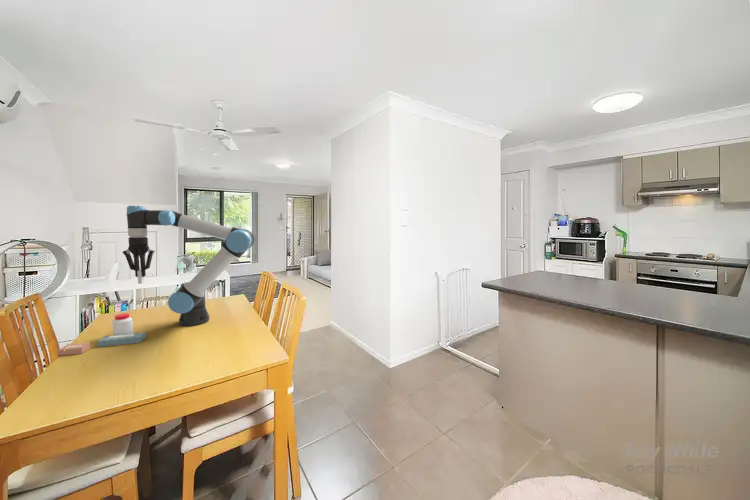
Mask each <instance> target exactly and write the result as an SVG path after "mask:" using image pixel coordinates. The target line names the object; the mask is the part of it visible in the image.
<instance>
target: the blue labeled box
mask: <svg viewBox="0 0 750 500" xmlns="http://www.w3.org/2000/svg"><path fill="white" fill-rule="evenodd" d="M146 338H147V333H146V332H145V331H144V332H136V333H134V332H133V333H132V334H121V335H113V334H112V335H111V334H110V335H105V336H104V337H102V338H101V339H99V340H98V341H97V347H98V348H99V347H100V348H101V347H110V346H120V345H121V346H122V345H129V344H130V345H131V344H139V343H141V342H142V341H144V339H146Z"/></svg>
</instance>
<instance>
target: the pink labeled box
mask: <svg viewBox="0 0 750 500" xmlns="http://www.w3.org/2000/svg"><path fill="white" fill-rule="evenodd" d="M66 348H67V349H66ZM90 348H91V342H77V343H71V344H70V343H68V344H66V345H63V347H61V348H59V349H58V351H57V354H58V356H59V355H60V356H69V355H78V354H83V353H85V352H86V351H88V350H89V349H90ZM64 350H65V351H64Z"/></svg>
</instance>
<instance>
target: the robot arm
mask: <svg viewBox="0 0 750 500" xmlns="http://www.w3.org/2000/svg"><path fill="white" fill-rule="evenodd" d="M126 221H127V236H128V247H127V248H126V250H124V251H122V254H123V255H124V256H125V258H126V260H127V264H128V266H129V269H130V270H131V271H135V272H134V273H135V274H134V275H135V277H136V278H137V284H140V285H141V284H143V283H145V277H146V275H147V274H146V270H148V269H150V267H151V264H152V259H153V255H154V254H155V252H156V250H155V249H151V248H150V247H149V238H148V226H164V227H165V226H172V227H176V228H181V229H183V230H187V231H192V232H195V233H198V234H202V235H205V236H208V237H213V238H216V239H220V240H223V242H222V243H221V244H220V245H221V246H220V247H221V248H220V249H219V250H218V252H216V254H215V255H214V256H213V257H212V258H210V260H209V261H208V262H207V263H206V264H205V265H204V266H203V267H202V268H201V270H199V272H198V273H196V275H194V276H193V278H192V279H191V280H190V281H186V282H182V283H181V284H180V287H179V288H178V289H177V290H176V291H175V292H173V293H172V294H171V295H170V296H169V298H168V300H167V305H168V308H169V309H170V310H171V311H172V312H174V313H176V314H180V315H179V318H178V325H180V326H183V327H193V326H197V325H198V326H199V325H203V324H205V323H208V322H209V321H210V313H209V312H208V309H207V307H206V290H207V289H208V288H209V287H210V286H211V285H212V284H213V283H214V281H216V280H217V278H218V277H219V276H220V275H221V274H222V273H223V272H224V271H225V270H226V269H227V268H228V267H229V266H230V265H231V264H232V262H234V260H235V259H240V258H241V257H242V256H243V255H244V254H245V252H247V251H248V250H249V249H250V248H251V247H253V245H254V244H255V236H254V234H253V232H251V231H250V230H249V229H244V228H238V227H234V226H232V227H229V226H226V225H221V224H217V223H215V222H211V221H208V220H204V219H201V218H197V217H193V216H189V215H186V214H183V213H179V212H178V211H175V210H167V209H165V210H164V209H163V210H159V209H158V210H155V209H154V210H153V209H147V207H146V206H144V205H128V206H127V207H126ZM147 253H148V254H147ZM131 254H132V255H131ZM146 254H147V257H146ZM132 257H133V258H132Z"/></svg>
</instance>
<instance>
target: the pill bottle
mask: <svg viewBox="0 0 750 500" xmlns="http://www.w3.org/2000/svg"><path fill="white" fill-rule="evenodd" d="M111 322H112V323H111V325H112V335H121V334H132V333H134V322H133V317H131V316H130V313H127V312H125V313H119V314H115V315H114V319H113V320H112V321H111Z"/></svg>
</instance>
